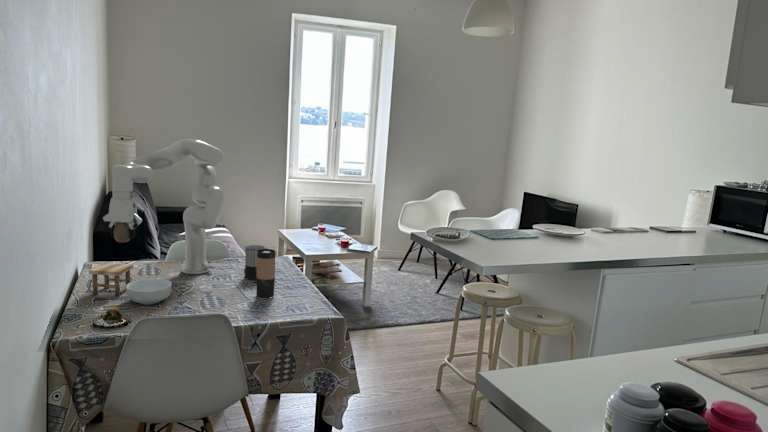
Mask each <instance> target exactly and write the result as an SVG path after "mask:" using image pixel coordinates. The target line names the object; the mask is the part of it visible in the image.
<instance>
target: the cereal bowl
mask: <svg viewBox="0 0 768 432" xmlns="http://www.w3.org/2000/svg"><path fill="white" fill-rule="evenodd" d="M125 292H126V295H127V298H128V299H130V301H133V302H135V303H138V304H141V305H154V304H155V305H156V304H158V303H159V302H160V301H163V300H164V299H167V298H168V297H169V295H170V294H171V292H172V282H171V281H170V280H168V279H163V278H144V279H138V280H133V281H130V283H129V284H127V285H126V284H125Z"/></svg>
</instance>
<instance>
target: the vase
mask: <svg viewBox="0 0 768 432" xmlns="http://www.w3.org/2000/svg"><path fill="white" fill-rule="evenodd" d="M129 230H130V226H129V224H128V223H119V222H117V223H116V225H115V228H114V232H113V234H114V237H113V238H114V240H115V242H117V243H127V242H129V241H130V240H131V239H130V238H129Z"/></svg>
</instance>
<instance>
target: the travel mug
mask: <svg viewBox="0 0 768 432" xmlns="http://www.w3.org/2000/svg"><path fill="white" fill-rule="evenodd" d="M275 277H276V250H275V249H271V248H270V249H269V248H267V249H261V250H258V251H257V276H256V281H255V282H256V285H255V286H256V298H257V297H259V298H270V297H273V296H274V295H275V283H276V282H275V281H276V280H275V279H276V278H275ZM259 298H258V299H259ZM273 298H274V297H273Z"/></svg>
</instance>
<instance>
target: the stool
mask: <svg viewBox="0 0 768 432" xmlns="http://www.w3.org/2000/svg"><path fill="white" fill-rule="evenodd" d="M132 269H134V264H126V263H114V262H113V263H111V262H103V263H102V264H99V265H97V266H95V267H93V268H91V269H89V270H88V274H89V275H92V277H91V278H92V279H91V281H92V296H98V295H99V292H98V291H99V290H98V288H104V289H106V290H107V289H110V288H111V289H114V297H115V298H116V297H117V298H118V297H120V296H121V287H120V286H121V283H120V282H123V283H125V286H126V285H127V284H129V283H131V270H132ZM123 274H125V278H120V276H122V275H123ZM98 275H99V276H100V275H101V276H103V279H104V282H103V283H98ZM110 276H114V277H110ZM110 282H114V284H110Z"/></svg>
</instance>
